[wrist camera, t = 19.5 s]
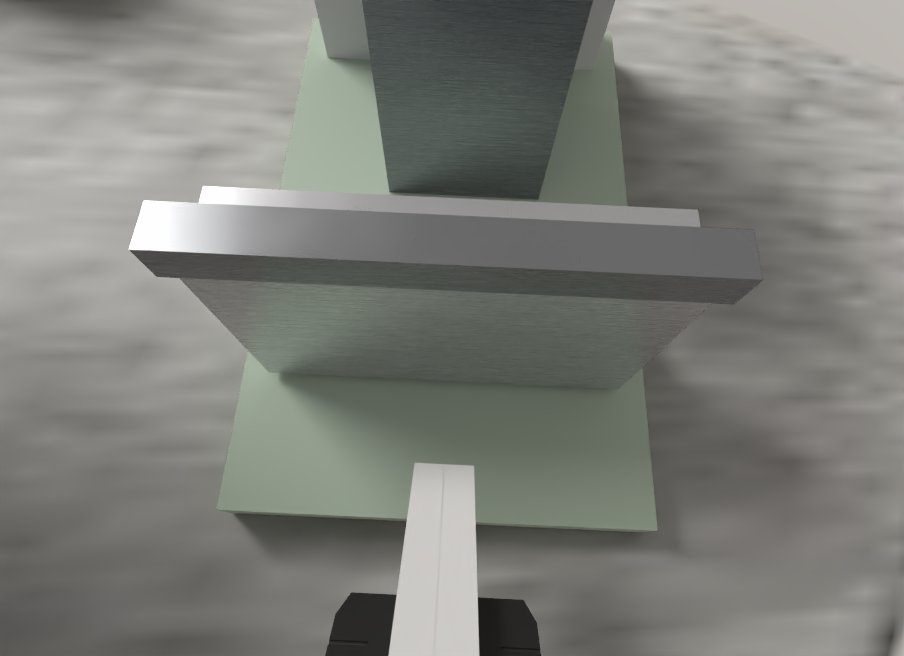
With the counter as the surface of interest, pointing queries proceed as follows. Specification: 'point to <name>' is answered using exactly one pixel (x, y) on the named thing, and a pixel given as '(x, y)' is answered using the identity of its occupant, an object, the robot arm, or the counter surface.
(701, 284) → the sliding jaw
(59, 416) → the counter surface
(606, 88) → the vise bed
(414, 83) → the steel block
